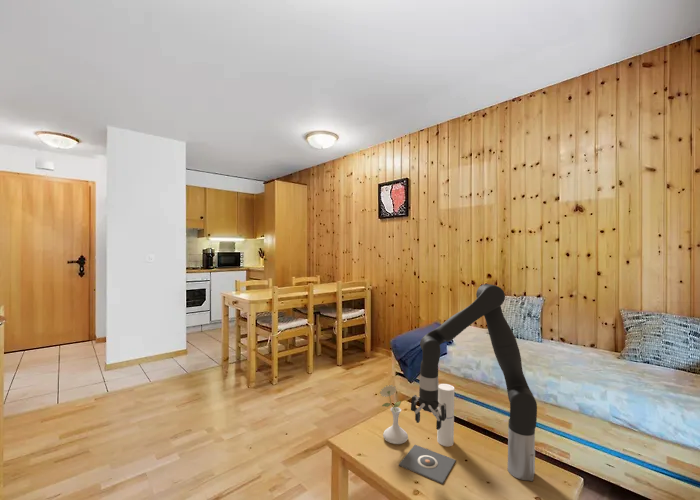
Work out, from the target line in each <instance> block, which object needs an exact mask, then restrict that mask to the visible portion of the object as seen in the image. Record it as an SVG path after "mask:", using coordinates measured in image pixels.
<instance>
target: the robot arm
mask: <svg viewBox="0 0 700 500" xmlns="http://www.w3.org/2000/svg"><path fill="white" fill-rule="evenodd" d="M505 300H506V294H505V291H504V290H503V289H502V288H501V287H499V286H498V285H495V284H490V283H485V284H484V283H483V284H481V285H480V286H479V287H478V288H477V290H476V298H475V300H474V301H473V302H472V303H470V304H469V305H468V306H466V307H464V308H463V309H462V310H460V311H458V312H456V313H455V314H453V315H452V316H450V317H449V318H447V319H446V320H445V321H444V322H443V323H442V324H441V325H439V326H438V327H437V328H434V329H433V330H431V331H429V332H428V333H426V334H425V335H424V336H423V337H422V338H421V339H420V341H419V342H420V343H419V345H420V348H421V351H422V359H421V362H420V373H419V374H420V376H419V383H418V384H419V391H418V392H419V393H418V396H417V394H414V395H412V397H411V404H410V411H411V412H414V414H415V415H414V420H415V422H416V423H420V421H421V412H420V411H421V410H422V411H425V412H428V413H430V414H431V413H432V415H433V416H434V417H435V419H436V424H435V425H436V430H439V429H440V428H441V421H444V420H445V419H446V404H445V403H444V404H440V403H439V402H438V386H439V384H440V383H439V382H440V381H439V363H440V358H441V357H440V356H441V345H442V344H444V343H446V342H448V343H449V342H450V341H452V340H455V338H457V336H458V335H460V334H461V333H462V332H463V331H465V330H466V329H467V328H469V327H470V326H471V325H472V324H474V323H476V321H477V320H479V319H481V318H482V317H484V320H485V323H486V326H487V331H488V334H489V339H490V342H491V345H492V349H493V353H494V355H495V359H496V361H497V363H498V365H499V367H500V369H501V372H502V375H503V376H504V381H505V385H506V391H507V398H508V401H509V418H508V424H507V425H508V429H507V430H508V431H507V433H508V434H507V436H508V437H507V440H508V441H507V471H508V473H509V474H510V475H511V476H513V477H514V478H516V479H519V480H522V481H531V482H534V478H535V473H536V472H535V471H536V469H535V468H536V464H535V463H536V448H535V438H536V436H535V435H536V428H537V419H538V406H537V405H538V404H537V400H536V398H535V397H534V394H533V392H532V390H531V389H530V387H529V385H528V382H527V380H526V378H525V375H524V372H523V365H522V356H521V352H520V349H519V345H518V342H517V339H516V336H515V334H514V332H513V330H512V329H511V327H510V325H509V323H508V321H507V320H506V318H505V315H504V313H503V309H502V305H503V304H504V302H505ZM417 402H418V404H419V407H417ZM438 407H440V410H441V414H440V413H439V410H438Z"/></svg>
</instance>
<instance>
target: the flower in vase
mask: <svg viewBox="0 0 700 500" xmlns="http://www.w3.org/2000/svg"><path fill="white" fill-rule="evenodd" d="M395 393H397V388H396V386H395V385H393V384H391V385H390V384H389V385H385V386H384V387H383V388H381V390H380V392H379V394H380V396H381V397H382V398H383V397H384V398H386V397H387V398H388V397H389V402H390V403H389V402H385V403H383V404H382V405H381V407H387V408H388V407H390V406H391V407H390V412H391V413H392V425H391V426H389V427H386V429H385V430H384V431H383V434H382V436H383V439H384V440H385V441H386V442H388V443H390V444H394V445H402V444H404V443H406V442H407V441H408V439H409V436H408V433H407V431H406V430H405V429H404V428H402V427H401V426H400V425H399V417H400V414H401V411H402V408H400V405H401V403H402V402H401V401H402V400H399V401H397V402H395V403H394V405H393V404H392V400H391V396H393V395H395Z"/></svg>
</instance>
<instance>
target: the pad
mask: <svg viewBox="0 0 700 500" xmlns="http://www.w3.org/2000/svg"><path fill="white" fill-rule="evenodd" d="M456 461H457V460H456V459H455V458H451V457H449V456H446V455H443V454H442V453H438V452H436V451H433V450H431V449H428V448H425V447H423V446H420V445H418V444H414V445H413V446H412V448H411V449H410V450H409V451H408V452H407V454H406V455H405V456H404V457H403V459H401V461H400V462H399V463H398V466H399V467H402V468H404V469H406V470H408V471H411V472H413V473H416V474H417V475H420V476H422V477H424V478H427V479H429V480H432V481H434V482H437V483H438V484H441V485H444V483H445V480H446V479H447V477H448V476H449V473H450V472H451V471H452V469H453V467H454V466H455V463H456Z"/></svg>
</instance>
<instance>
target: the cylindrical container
mask: <svg viewBox="0 0 700 500" xmlns="http://www.w3.org/2000/svg"><path fill="white" fill-rule="evenodd" d="M438 402H439V403H440V404H444V403H445V404H446V419H445V420H444V421H441V428H440V429H439V430H437V429H436V430H437V433H436V436H437V438H436V441H437V443H438V444H439V445H441V446H443V447H452V446H453V445H454V435H455V432H454V431H455V429H454V428H455V387H454V386H453V385H452V384H449V383H439V386H438ZM437 408H438V410H439V413H440V414H441V410H440V407H437Z"/></svg>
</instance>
